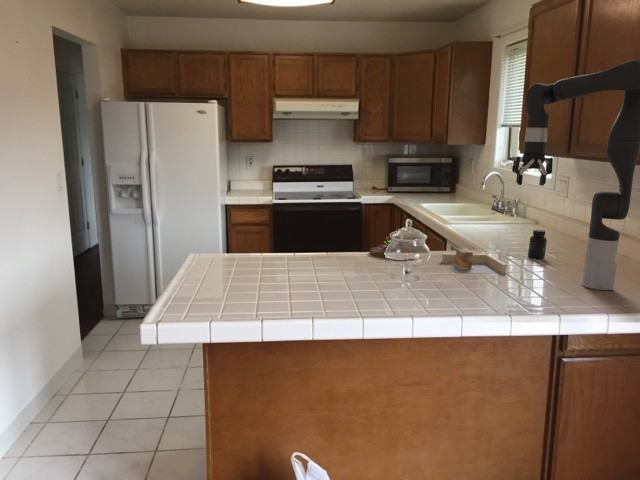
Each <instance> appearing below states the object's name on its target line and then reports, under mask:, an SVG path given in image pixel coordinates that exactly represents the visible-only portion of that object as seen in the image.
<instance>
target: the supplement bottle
mask: <svg viewBox="0 0 640 480" xmlns="http://www.w3.org/2000/svg"><path fill="white" fill-rule="evenodd" d="M532 231H533V232H532V235H531V236H530V237H529V241H528V242H529V243H528V252H527V257H528V259H529V258H530V259H533V260H544V259H545V257H546V250H547V243H548V239H547V237H545V236H546V231H545V230H542V229H534V230H532Z"/></svg>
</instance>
